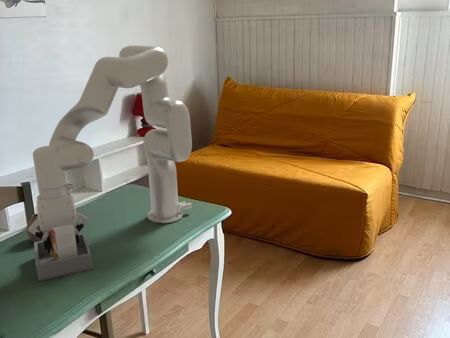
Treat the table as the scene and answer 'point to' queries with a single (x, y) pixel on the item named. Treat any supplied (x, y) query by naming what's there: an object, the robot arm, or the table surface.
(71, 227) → the small box
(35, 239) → the vase
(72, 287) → the table surface
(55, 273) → the bin
